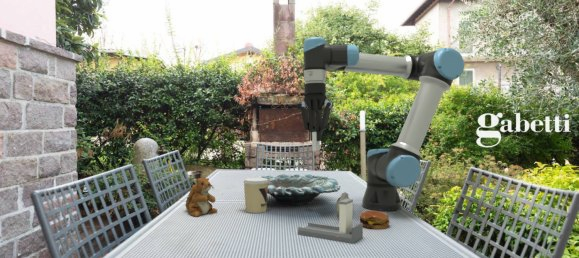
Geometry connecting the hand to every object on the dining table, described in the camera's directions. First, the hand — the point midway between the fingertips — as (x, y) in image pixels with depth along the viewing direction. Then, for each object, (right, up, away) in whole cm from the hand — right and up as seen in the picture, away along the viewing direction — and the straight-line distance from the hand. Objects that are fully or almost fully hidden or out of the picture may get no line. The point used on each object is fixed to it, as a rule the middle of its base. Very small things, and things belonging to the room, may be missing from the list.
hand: (316, 150), depth 148 cm
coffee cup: (-22, -24, +13) cm, 35 cm away
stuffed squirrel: (-43, -24, +9) cm, 50 cm away
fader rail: (+3, -25, -21) cm, 33 cm away
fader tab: (+7, -23, -24) cm, 34 cm away
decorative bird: (+10, -24, +4) cm, 27 cm away
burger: (+19, -25, -9) cm, 32 cm away
